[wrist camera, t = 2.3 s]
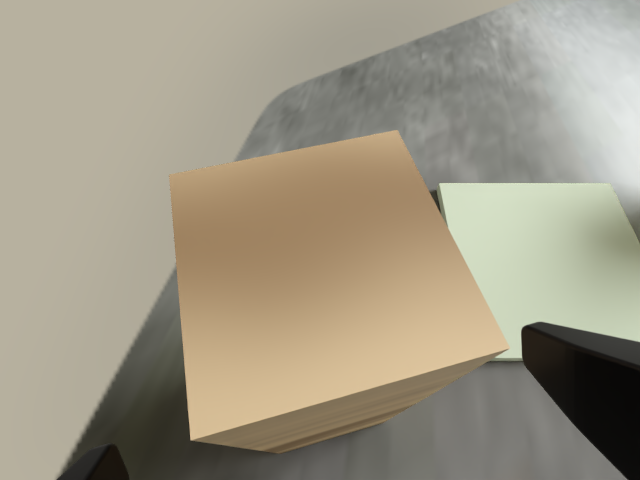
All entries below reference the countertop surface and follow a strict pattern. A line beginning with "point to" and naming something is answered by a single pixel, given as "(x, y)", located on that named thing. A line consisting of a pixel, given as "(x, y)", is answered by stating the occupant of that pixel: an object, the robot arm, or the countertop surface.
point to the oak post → (319, 294)
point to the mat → (548, 255)
